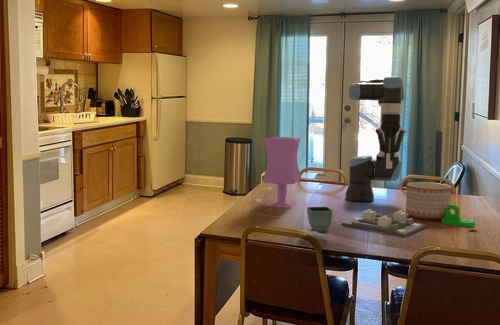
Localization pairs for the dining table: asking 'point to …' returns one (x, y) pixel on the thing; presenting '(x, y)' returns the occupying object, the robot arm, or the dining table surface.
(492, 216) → the dining table surface
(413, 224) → the switch board
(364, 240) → the dining table surface
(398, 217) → the tab far
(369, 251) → the dining table surface
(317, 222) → the flower pot
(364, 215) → the tab middle
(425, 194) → the planter
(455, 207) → the mechanical part
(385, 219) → the tab near
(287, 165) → the purple table lamp
